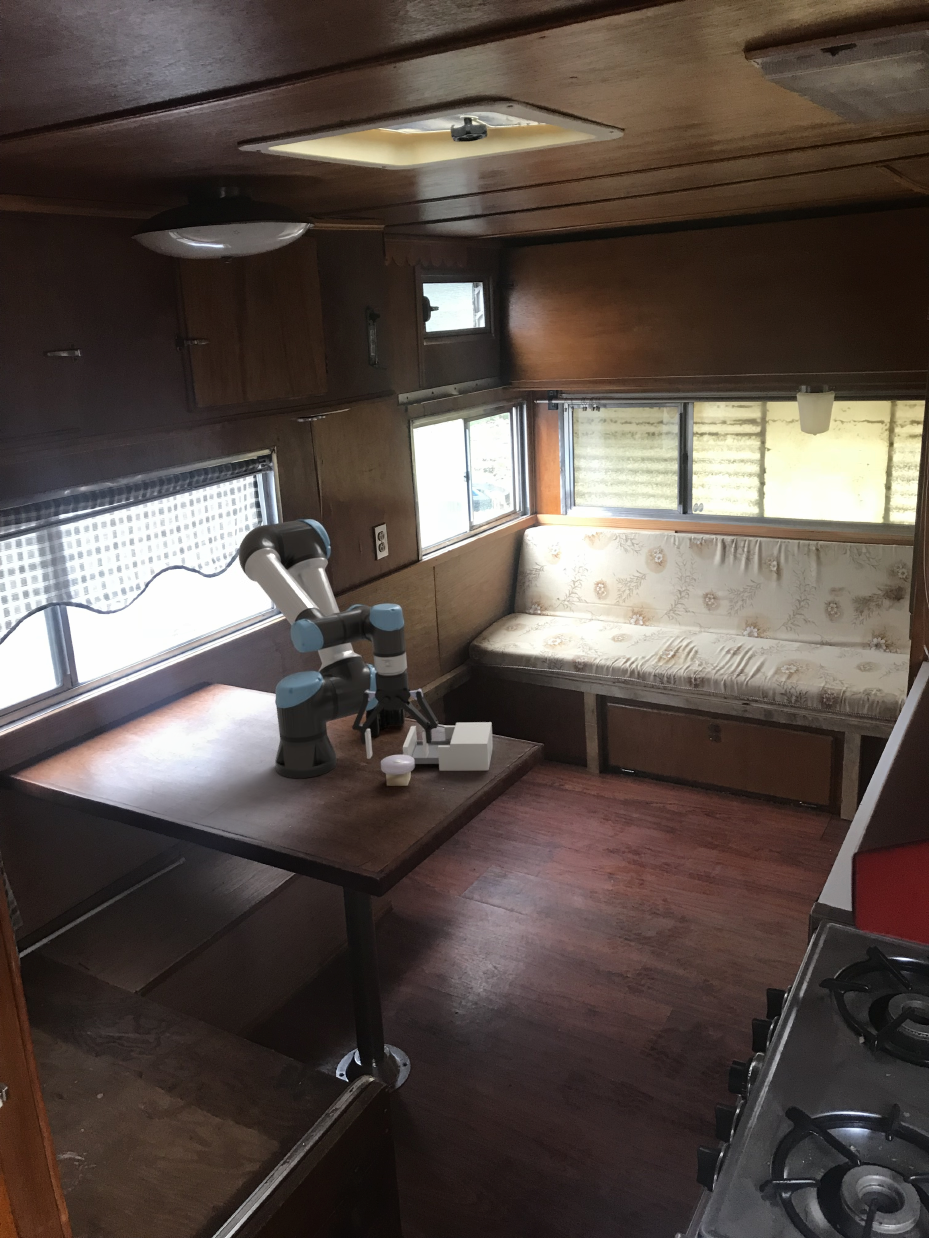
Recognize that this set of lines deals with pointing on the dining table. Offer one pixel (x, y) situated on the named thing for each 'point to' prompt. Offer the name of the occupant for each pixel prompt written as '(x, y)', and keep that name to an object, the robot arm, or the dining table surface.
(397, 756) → the lid
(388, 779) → the beige block
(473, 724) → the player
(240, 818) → the dining table surface
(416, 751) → the tray
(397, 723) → the camera
